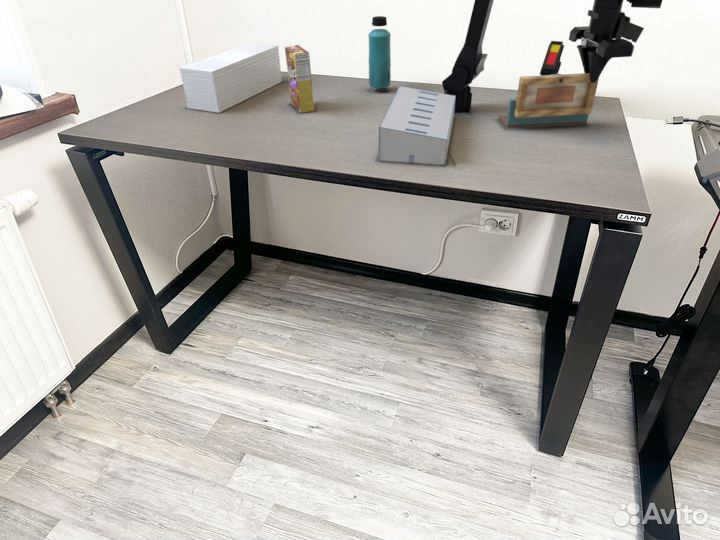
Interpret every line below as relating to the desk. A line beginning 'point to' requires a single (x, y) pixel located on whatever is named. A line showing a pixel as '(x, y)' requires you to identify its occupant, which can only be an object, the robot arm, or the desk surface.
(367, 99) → the desk surface
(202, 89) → the stack of papers
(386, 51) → the beverage bottle
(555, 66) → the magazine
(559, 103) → the picture frame
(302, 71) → the candy box
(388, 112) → the warehouse
